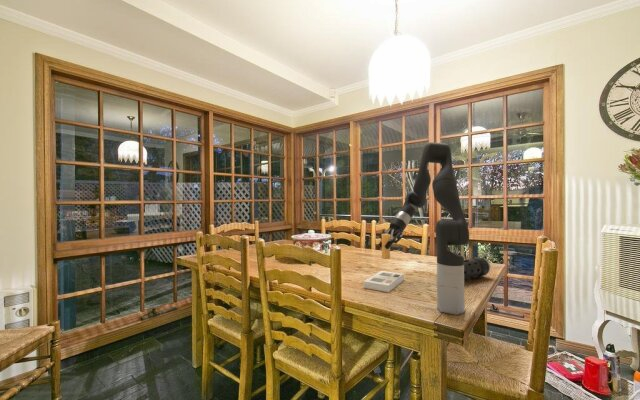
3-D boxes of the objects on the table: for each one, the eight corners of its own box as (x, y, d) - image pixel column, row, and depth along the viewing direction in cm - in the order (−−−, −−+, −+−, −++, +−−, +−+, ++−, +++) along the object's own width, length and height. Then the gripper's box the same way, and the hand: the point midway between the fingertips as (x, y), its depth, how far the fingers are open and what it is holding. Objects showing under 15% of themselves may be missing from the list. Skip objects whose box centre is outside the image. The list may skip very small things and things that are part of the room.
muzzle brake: (437, 281, 139) (437, 260, 139) (474, 274, 152) (474, 255, 152) (454, 287, 131) (454, 264, 131) (492, 278, 143) (492, 258, 143)
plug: (388, 259, 139) (388, 234, 139) (380, 258, 141) (380, 234, 141) (391, 257, 142) (390, 234, 142) (383, 256, 144) (383, 233, 144)
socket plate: (388, 292, 124) (388, 284, 124) (363, 287, 131) (363, 280, 131) (403, 279, 142) (403, 273, 142) (381, 276, 149) (381, 270, 149)
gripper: (386, 216, 151) (369, 240, 145) (407, 217, 139) (388, 244, 133) (394, 225, 154) (377, 250, 148) (414, 227, 142) (397, 254, 136)
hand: (383, 247), depth 141 cm, fingers closed on plug, 4 cm apart
